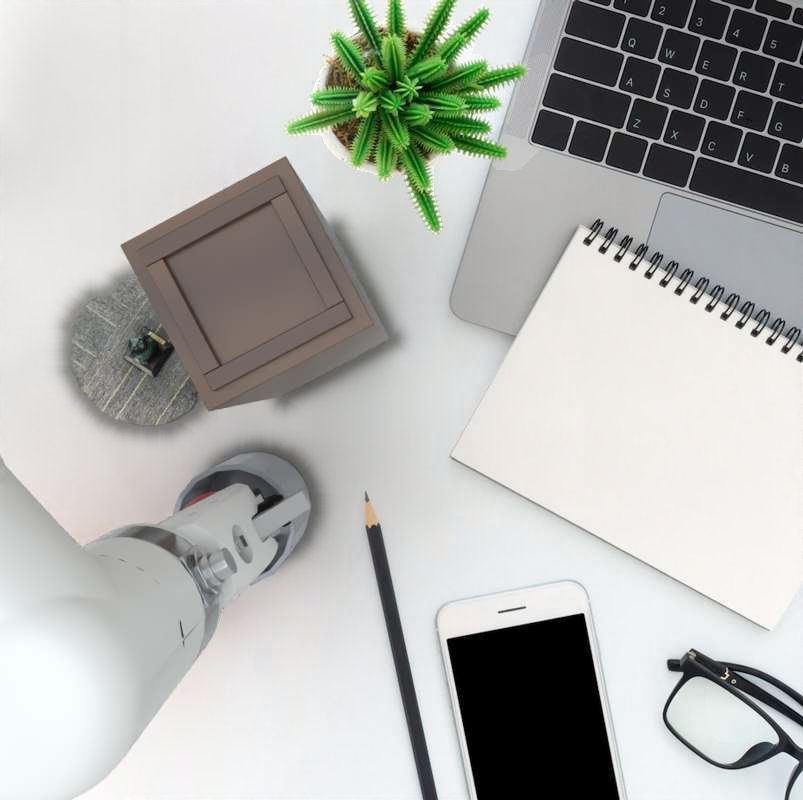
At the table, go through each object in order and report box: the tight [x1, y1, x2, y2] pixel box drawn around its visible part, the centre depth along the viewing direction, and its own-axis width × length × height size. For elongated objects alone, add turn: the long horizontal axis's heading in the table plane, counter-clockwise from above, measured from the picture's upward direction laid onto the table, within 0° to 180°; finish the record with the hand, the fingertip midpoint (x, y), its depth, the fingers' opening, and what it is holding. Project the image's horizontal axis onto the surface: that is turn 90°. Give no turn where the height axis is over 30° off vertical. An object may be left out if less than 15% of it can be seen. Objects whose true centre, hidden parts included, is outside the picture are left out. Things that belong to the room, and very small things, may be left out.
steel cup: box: [172, 451, 312, 587], centre depth 65 cm, size 9×9×9 cm
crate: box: [119, 155, 390, 412], centre depth 56 cm, size 10×10×24 cm
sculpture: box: [70, 277, 198, 426], centre depth 69 cm, size 12×9×8 cm
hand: (222, 532), depth 57 cm, fingers closed on apple, 5 cm apart
